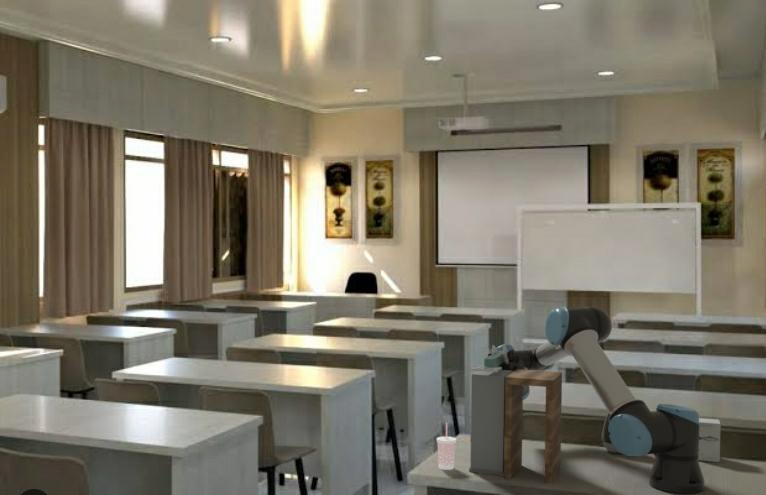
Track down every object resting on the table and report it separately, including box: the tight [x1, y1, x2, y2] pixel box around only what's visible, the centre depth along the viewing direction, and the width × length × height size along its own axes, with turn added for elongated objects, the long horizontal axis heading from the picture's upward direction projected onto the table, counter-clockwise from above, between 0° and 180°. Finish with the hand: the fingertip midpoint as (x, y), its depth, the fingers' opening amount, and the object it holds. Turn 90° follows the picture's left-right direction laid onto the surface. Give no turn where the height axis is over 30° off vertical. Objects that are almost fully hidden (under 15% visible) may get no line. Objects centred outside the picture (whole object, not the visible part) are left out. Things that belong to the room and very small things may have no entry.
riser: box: [503, 369, 563, 484], centre depth 262 cm, size 14×16×30 cm
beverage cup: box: [436, 422, 457, 471], centre depth 268 cm, size 6×6×14 cm
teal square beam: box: [470, 350, 506, 372], centre depth 269 cm, size 8×26×3 cm, turn 159°
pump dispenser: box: [601, 412, 621, 454], centre depth 290 cm, size 10×10×15 cm
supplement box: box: [698, 417, 722, 463], centre depth 282 cm, size 7×7×13 cm
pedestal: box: [468, 370, 513, 476], centre depth 268 cm, size 11×13×30 cm
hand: (498, 349), depth 274 cm, fingers closed on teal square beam, 3 cm apart
